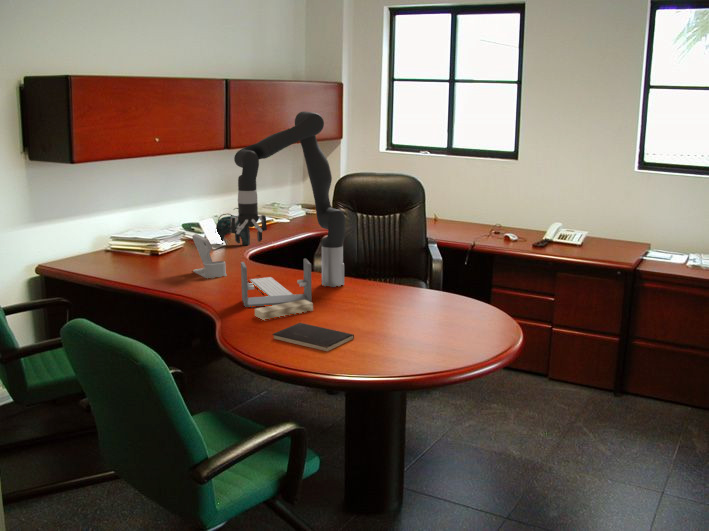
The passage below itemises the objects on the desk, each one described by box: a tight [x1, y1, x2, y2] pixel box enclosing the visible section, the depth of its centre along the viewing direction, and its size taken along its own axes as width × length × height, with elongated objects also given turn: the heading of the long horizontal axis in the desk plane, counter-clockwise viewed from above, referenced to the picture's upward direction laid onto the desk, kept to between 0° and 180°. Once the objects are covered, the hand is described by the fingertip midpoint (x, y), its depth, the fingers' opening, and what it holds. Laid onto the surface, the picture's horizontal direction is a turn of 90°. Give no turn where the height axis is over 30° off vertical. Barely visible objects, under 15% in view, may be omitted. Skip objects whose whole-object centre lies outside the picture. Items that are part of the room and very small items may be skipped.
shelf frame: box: [240, 258, 313, 308], centre depth 306 cm, size 26×10×16 cm, turn 104°
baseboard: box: [247, 274, 294, 296], centre depth 327 cm, size 31×3×12 cm
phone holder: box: [191, 233, 228, 280], centre depth 350 cm, size 17×10×18 cm, turn 34°
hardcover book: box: [272, 322, 355, 352], centre depth 265 cm, size 16×23×2 cm
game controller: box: [215, 207, 251, 247], centre depth 412 cm, size 20×6×20 cm, turn 79°
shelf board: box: [254, 299, 314, 321], centre depth 293 cm, size 22×6×4 cm, turn 125°
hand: (248, 242), depth 305 cm, fingers open, 8 cm apart
